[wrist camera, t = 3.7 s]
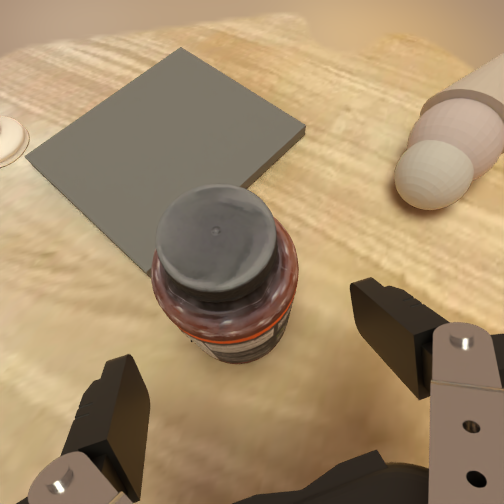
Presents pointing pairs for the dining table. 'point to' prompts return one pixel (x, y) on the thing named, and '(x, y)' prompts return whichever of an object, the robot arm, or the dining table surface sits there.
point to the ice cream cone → (454, 139)
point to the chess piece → (11, 140)
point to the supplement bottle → (225, 271)
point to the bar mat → (162, 148)
